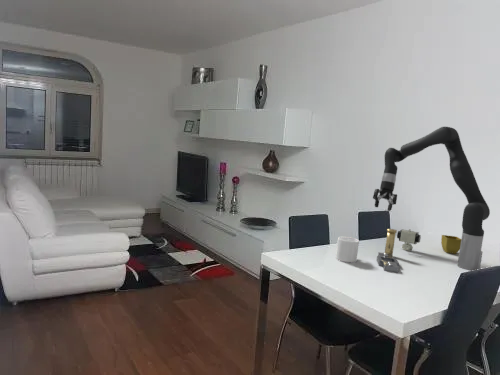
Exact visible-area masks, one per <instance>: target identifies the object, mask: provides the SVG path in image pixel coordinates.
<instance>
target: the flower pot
mask: <svg viewBox="0 0 500 375" xmlns="http://www.w3.org/2000/svg"><path fill="white" fill-rule="evenodd" d="M461 239H462V238H460V237H458V236H455V235H454V236H453V235H447V234H446V235H445V234H441V248H442V250H443V251H444V252H445V253H447V254H453V255H456V254H458V253H459V251H460V245H461Z"/></svg>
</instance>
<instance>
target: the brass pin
mask: <svg viewBox="0 0 500 375" xmlns="http://www.w3.org/2000/svg"><path fill="white" fill-rule="evenodd" d="M386 232H387V233H386V241H385V247H384V253H387V254H391V256H392V257H393V255H394V248H395V240H396V234H397V233H398V231H397V229H394V228H387V229H386Z"/></svg>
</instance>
